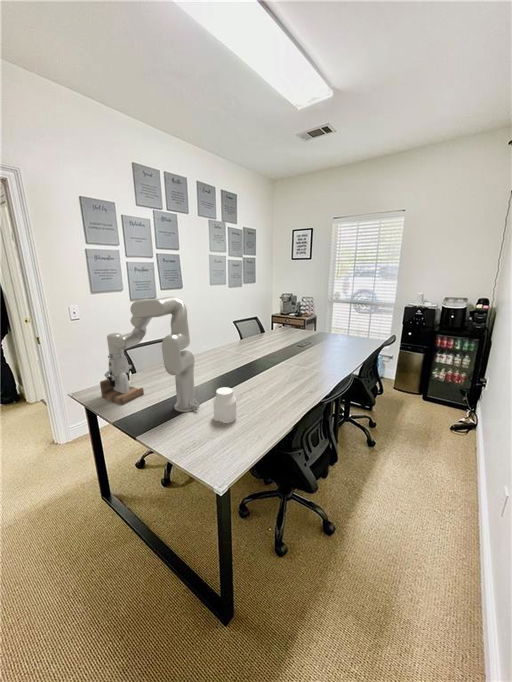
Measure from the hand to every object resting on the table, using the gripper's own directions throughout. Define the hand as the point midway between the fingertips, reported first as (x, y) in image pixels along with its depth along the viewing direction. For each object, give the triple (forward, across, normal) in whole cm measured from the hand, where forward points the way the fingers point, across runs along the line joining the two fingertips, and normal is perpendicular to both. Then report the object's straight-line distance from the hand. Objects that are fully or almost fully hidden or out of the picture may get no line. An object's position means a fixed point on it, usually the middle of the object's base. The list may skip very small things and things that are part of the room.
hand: (120, 383), depth 162 cm
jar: (+8, +7, -67) cm, 68 cm away
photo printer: (+5, 0, 0) cm, 5 cm away
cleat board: (+8, 0, -2) cm, 8 cm away
